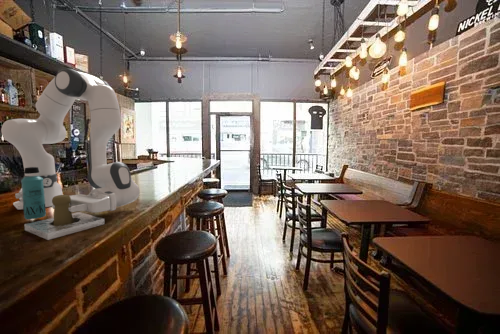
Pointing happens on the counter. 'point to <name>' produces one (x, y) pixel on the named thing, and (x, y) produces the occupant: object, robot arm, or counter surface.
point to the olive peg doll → (62, 210)
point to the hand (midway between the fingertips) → (61, 208)
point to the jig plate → (63, 226)
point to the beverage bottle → (33, 195)
